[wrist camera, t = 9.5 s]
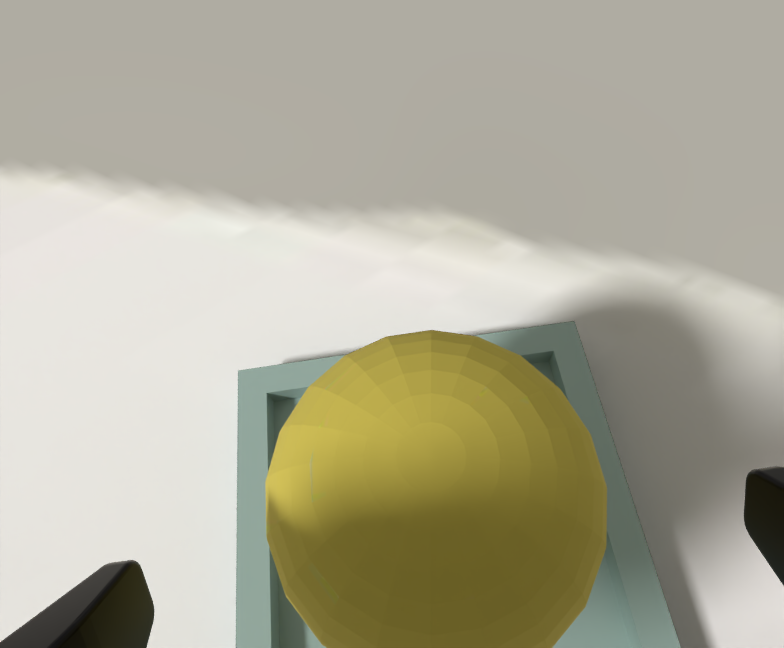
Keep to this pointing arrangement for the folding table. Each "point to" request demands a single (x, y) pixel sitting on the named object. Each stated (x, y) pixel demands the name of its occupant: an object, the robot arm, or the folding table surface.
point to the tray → (624, 532)
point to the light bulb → (436, 499)
